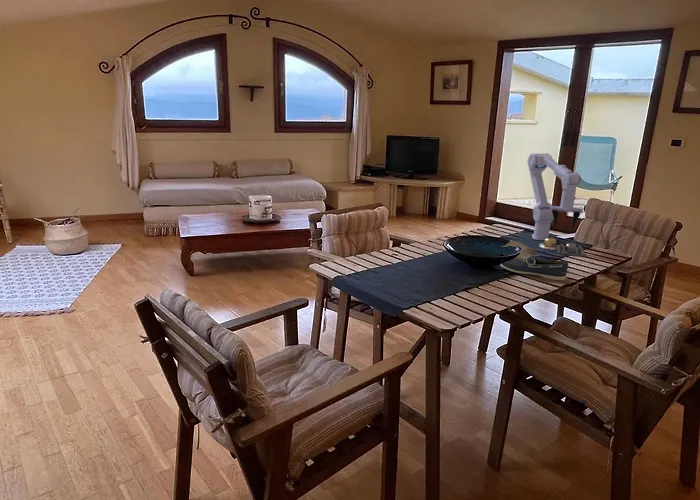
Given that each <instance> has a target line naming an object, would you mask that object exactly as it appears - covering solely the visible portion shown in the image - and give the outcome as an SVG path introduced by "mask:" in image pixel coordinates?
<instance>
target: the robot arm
mask: <svg viewBox="0 0 700 500" xmlns="http://www.w3.org/2000/svg"><path fill="white" fill-rule="evenodd" d="M527 165H528V169H529V175H530V181H531V185H532V189H533V193H534V199H535V203H536V204H535V205H534V207H533V208H532V218H533V220H534V222H535V223H534V229H533V230H534V231H533V233H532V234H531V236H532V240H537V241H543V242H545V238H550V237H549V235H550V230H551V229H550V228H551V224H552V223H553V226H554V227H557V221H558V220H557V219H558V215H559V213H558V212H565V213H566V212H567V213H572V219H571V220H572V221H571V224H570V228H574V227H575V223H576V222H577V220H578V218H580V215H581V214H583V213H584V209H583V208H581V207H579V208H578V207H574V205H575V199H576V192H577V188H578V187H577V186H578V185H579V184H580V183H581V175H580V174H579V173H578V172H573V170H571V169H570V168H568V167H567V165H565V164H559V163H558V162H557V161H555V160H554V159H553V157H552V155H551V154H549V153H547V152H546V153H535V152H533V153H531V154H529V156H528V158H527ZM547 168H549V169H551V170H552V171H553V174H554V175H555V176H556V177H557V178H558V179H560V180H561V181H560V182H561V189H562V193H561V200H560V205H559V206H556V205H552V204H551V203H550V202H548V196H547V193H546V188H545V184H544V180H543V174H542V173H543V172H545V170H546V169H547Z"/></svg>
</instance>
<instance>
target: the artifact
mask: <svg viewBox="0 0 700 500" xmlns="http://www.w3.org/2000/svg"><path fill="white" fill-rule="evenodd" d="M508 246H512V247H513V246H514V247H516V246H518V247H520V248H521V252H520V254H519V255H518V256H517V257H516V258H514V259H513V260H524V257H527V256H528V255H536V251H535V249H534V248H531V247H528V246H527V245H525V244H524V243H522V242H518V241H515V240H510V241H509V242H508V243H506V244H505V245H502V246H501V247H508ZM522 256H524V257H522Z"/></svg>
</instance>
